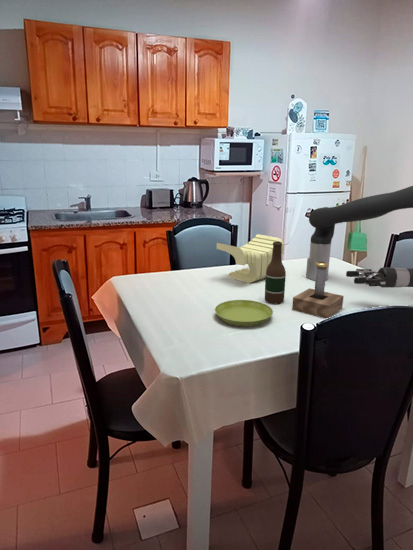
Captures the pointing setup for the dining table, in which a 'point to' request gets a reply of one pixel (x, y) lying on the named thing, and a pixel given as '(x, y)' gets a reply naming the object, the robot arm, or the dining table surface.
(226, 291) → the dining table surface
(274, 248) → the beer bottle
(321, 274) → the steel pin
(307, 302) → the block
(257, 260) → the slatted curved stool
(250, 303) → the saucer
